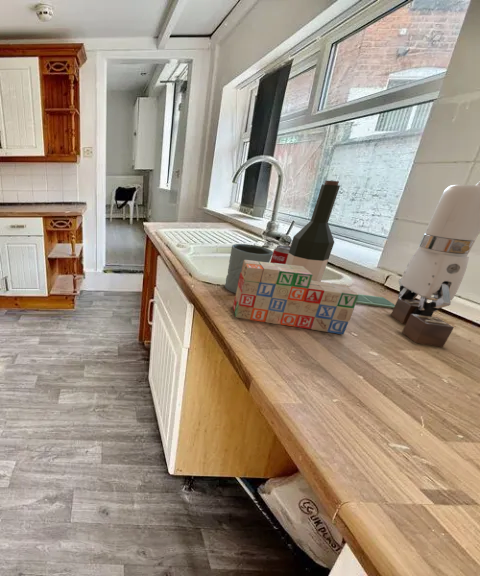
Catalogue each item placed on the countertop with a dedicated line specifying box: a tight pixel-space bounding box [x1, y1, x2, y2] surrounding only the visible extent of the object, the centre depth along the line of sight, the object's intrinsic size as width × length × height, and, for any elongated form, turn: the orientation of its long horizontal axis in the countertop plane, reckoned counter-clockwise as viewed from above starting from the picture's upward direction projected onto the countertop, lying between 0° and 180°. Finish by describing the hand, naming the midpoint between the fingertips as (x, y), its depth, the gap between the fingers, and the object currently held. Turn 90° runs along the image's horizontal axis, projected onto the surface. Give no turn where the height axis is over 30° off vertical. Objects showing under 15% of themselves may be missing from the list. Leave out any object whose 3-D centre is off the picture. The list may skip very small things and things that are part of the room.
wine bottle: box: [286, 180, 341, 282], centre depth 74 cm, size 8×8×30 cm
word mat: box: [356, 293, 395, 309], centre depth 83 cm, size 11×7×1 cm, turn 75°
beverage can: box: [269, 245, 291, 264], centre depth 87 cm, size 6×6×12 cm
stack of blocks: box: [232, 260, 359, 335], centre depth 67 cm, size 21×6×12 cm, turn 73°
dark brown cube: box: [390, 297, 420, 325], centre depth 72 cm, size 5×5×5 cm
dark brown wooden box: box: [401, 314, 454, 348], centre depth 64 cm, size 5×5×5 cm
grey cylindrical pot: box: [224, 243, 273, 294], centre depth 84 cm, size 10×10×12 cm
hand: (408, 319), depth 73 cm, fingers open, 5 cm apart
